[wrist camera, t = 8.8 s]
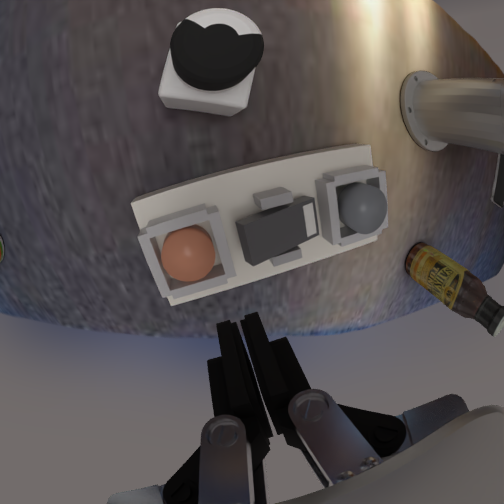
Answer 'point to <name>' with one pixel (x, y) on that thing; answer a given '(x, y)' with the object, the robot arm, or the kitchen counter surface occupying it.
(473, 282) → the sauce bottle
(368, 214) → the slate button
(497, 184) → the smartphone
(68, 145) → the kitchen counter surface
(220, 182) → the switch panel
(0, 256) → the supplement bottle
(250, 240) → the block
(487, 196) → the kitchen counter surface
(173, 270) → the terracotta button
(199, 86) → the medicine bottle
